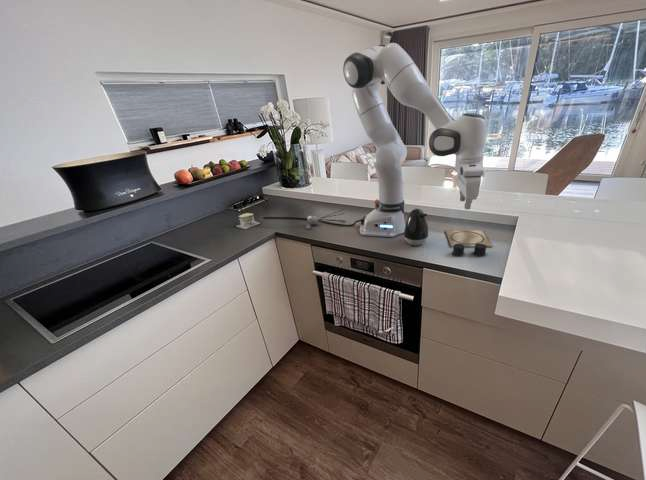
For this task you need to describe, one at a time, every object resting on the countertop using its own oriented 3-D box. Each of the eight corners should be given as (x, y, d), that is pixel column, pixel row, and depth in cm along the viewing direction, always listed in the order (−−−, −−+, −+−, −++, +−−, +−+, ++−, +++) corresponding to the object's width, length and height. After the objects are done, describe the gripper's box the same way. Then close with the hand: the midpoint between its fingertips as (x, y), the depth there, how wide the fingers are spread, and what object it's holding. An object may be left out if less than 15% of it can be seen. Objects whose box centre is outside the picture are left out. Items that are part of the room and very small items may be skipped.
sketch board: (450, 247, 118) (450, 245, 118) (445, 231, 132) (445, 230, 131) (491, 247, 116) (491, 245, 115) (482, 231, 129) (482, 230, 129)
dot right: (475, 256, 110) (476, 248, 108) (472, 251, 113) (474, 243, 112) (486, 256, 109) (487, 248, 108) (483, 251, 113) (484, 243, 111)
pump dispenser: (416, 250, 117) (417, 215, 110) (398, 242, 125) (399, 209, 117) (433, 243, 122) (435, 208, 115) (415, 235, 130) (416, 203, 122)
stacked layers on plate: (245, 229, 150) (242, 219, 147) (235, 226, 155) (232, 216, 152) (261, 223, 157) (258, 213, 154) (251, 220, 161) (249, 211, 159)
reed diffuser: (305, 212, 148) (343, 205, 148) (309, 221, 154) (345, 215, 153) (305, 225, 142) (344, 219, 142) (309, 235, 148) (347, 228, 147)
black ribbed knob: (453, 256, 111) (454, 248, 109) (452, 251, 114) (453, 243, 113) (464, 256, 110) (465, 248, 109) (462, 251, 114) (463, 243, 112)
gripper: (454, 161, 108) (451, 196, 115) (464, 172, 91) (460, 214, 97) (471, 159, 107) (467, 196, 114) (485, 171, 90) (480, 213, 96)
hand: (464, 204), depth 106 cm, fingers open, 8 cm apart
